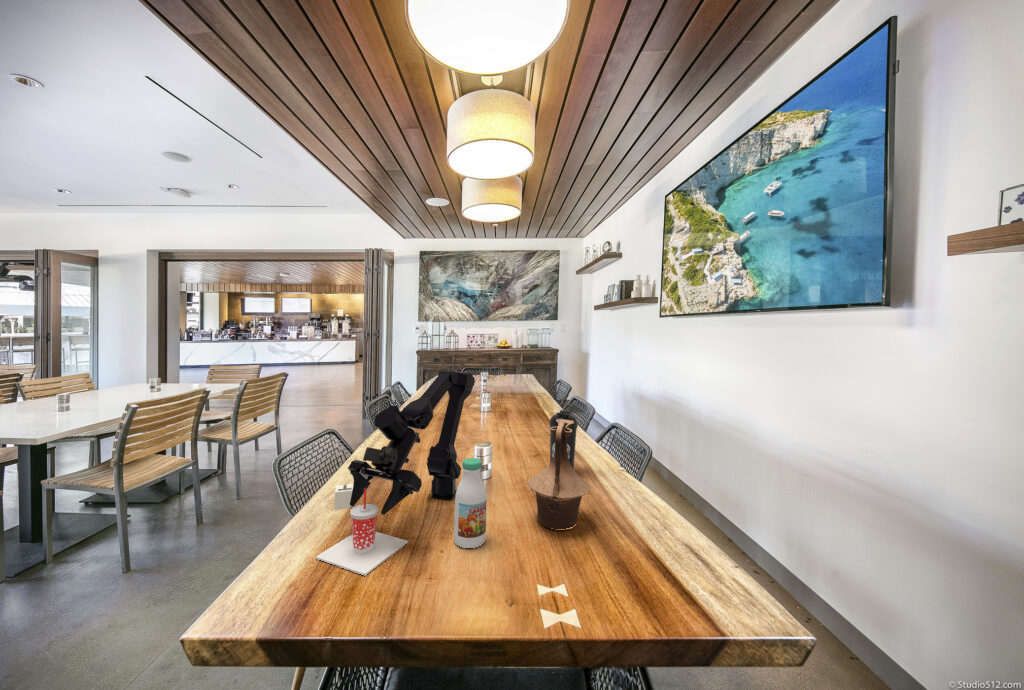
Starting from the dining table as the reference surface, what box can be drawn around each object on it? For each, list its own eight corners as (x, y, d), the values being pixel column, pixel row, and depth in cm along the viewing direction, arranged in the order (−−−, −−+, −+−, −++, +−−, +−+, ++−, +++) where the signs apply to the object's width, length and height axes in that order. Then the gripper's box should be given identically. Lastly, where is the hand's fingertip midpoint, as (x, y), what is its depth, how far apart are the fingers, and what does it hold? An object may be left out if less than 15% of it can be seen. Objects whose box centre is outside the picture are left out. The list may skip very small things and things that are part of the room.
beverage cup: (360, 539, 93) (361, 481, 93) (383, 543, 92) (384, 484, 91) (343, 553, 87) (344, 491, 87) (367, 557, 86) (368, 495, 85)
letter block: (354, 500, 116) (354, 483, 115) (353, 507, 111) (354, 489, 111) (335, 502, 114) (335, 485, 114) (334, 509, 109) (335, 491, 109)
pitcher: (588, 543, 96) (593, 431, 95) (520, 533, 99) (524, 425, 98) (588, 511, 113) (592, 415, 112) (531, 504, 117) (534, 411, 116)
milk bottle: (447, 544, 94) (449, 461, 93) (465, 530, 100) (467, 453, 100) (474, 553, 90) (476, 468, 89) (491, 538, 97) (493, 458, 96)
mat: (362, 530, 99) (362, 527, 99) (407, 543, 93) (407, 540, 93) (315, 559, 86) (315, 556, 86) (365, 576, 80) (365, 574, 80)
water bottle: (544, 477, 138) (547, 413, 138) (550, 467, 148) (552, 407, 147) (573, 481, 136) (576, 415, 135) (577, 471, 145) (579, 410, 144)
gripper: (353, 427, 97) (316, 487, 88) (415, 438, 90) (381, 504, 81) (375, 450, 105) (343, 507, 95) (434, 461, 98) (405, 524, 88)
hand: (366, 510), depth 90 cm, fingers open, 9 cm apart
